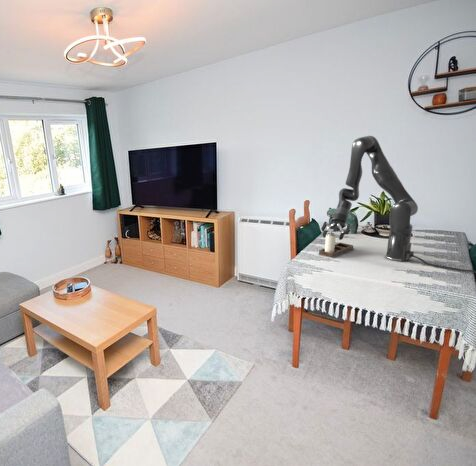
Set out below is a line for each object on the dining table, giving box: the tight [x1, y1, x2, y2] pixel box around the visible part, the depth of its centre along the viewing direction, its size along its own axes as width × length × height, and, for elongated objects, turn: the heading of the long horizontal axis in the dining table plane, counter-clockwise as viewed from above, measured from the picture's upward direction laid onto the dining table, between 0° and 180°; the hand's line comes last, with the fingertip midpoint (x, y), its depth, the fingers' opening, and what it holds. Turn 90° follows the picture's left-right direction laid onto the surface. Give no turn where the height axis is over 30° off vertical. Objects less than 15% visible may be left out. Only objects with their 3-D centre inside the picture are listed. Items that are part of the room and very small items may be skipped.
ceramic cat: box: [326, 207, 359, 235], centre depth 228 cm, size 20×6×20 cm, turn 37°
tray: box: [318, 242, 354, 258], centre depth 192 cm, size 8×23×3 cm, turn 118°
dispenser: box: [324, 228, 337, 253], centre depth 188 cm, size 5×5×16 cm
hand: (331, 238), depth 188 cm, fingers open, 8 cm apart
